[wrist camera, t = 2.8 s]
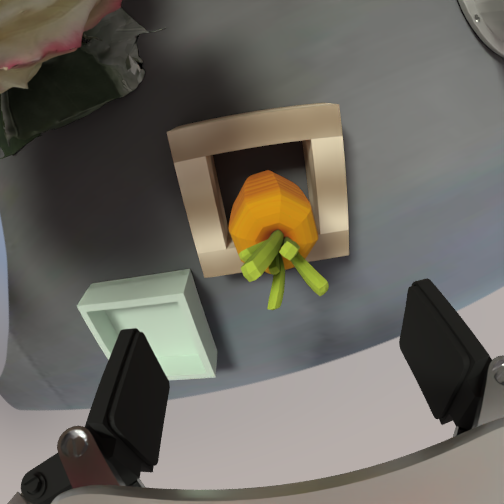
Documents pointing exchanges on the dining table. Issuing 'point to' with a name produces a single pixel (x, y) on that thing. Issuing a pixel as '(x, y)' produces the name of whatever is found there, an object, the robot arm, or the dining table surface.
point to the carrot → (274, 232)
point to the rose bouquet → (62, 63)
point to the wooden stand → (254, 135)
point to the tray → (155, 320)
